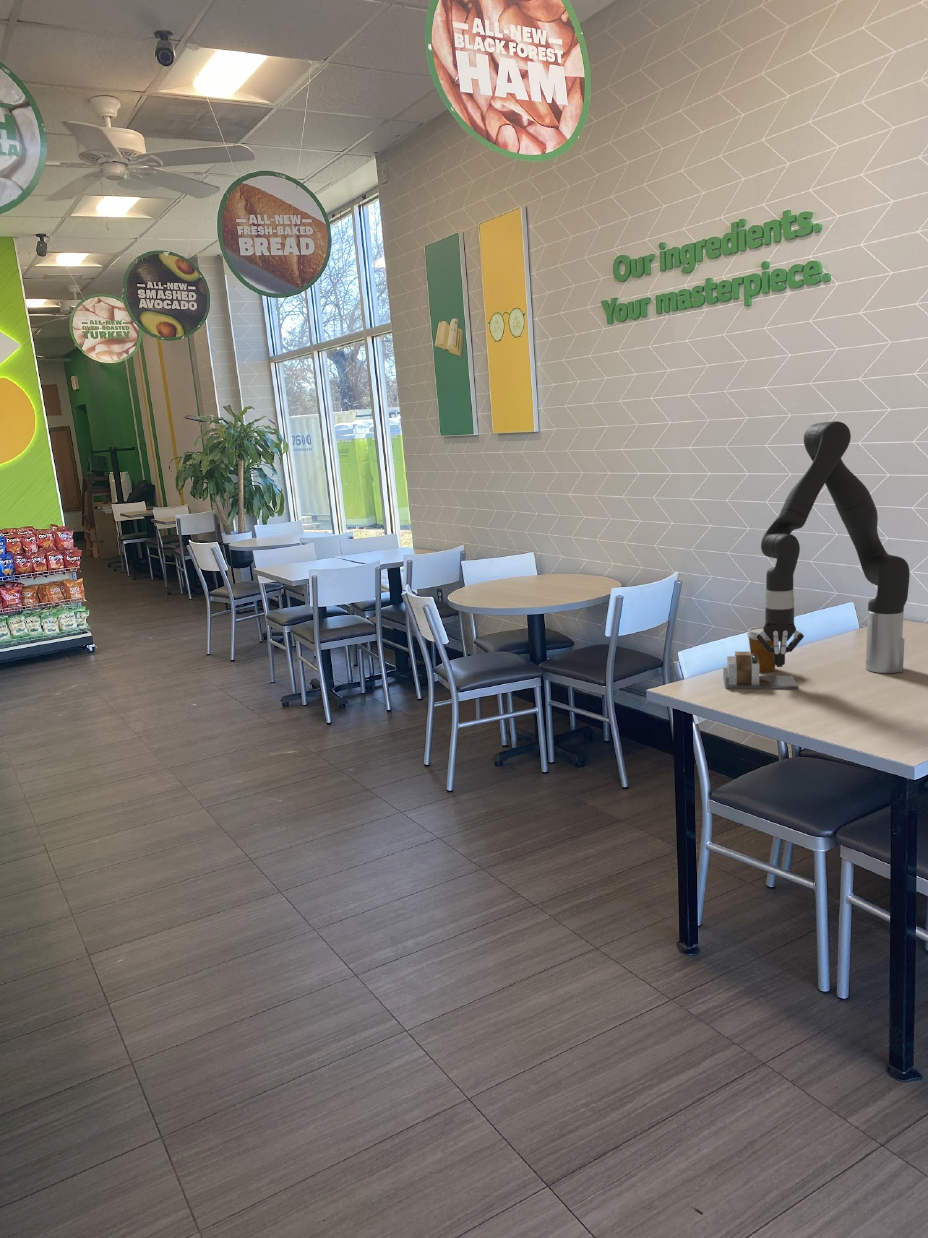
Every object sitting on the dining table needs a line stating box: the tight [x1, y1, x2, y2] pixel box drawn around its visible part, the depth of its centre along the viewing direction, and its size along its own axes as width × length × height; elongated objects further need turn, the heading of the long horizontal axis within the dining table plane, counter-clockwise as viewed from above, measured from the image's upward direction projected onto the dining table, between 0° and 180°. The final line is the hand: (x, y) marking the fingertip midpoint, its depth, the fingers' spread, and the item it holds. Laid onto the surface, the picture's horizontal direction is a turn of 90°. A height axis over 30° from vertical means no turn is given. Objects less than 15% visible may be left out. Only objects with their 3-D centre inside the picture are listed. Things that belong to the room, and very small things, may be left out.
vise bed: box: [722, 655, 799, 690], centre depth 252 cm, size 19×10×7 cm, turn 78°
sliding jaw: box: [751, 653, 760, 685], centre depth 252 cm, size 2×8×7 cm, turn 168°
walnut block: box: [734, 651, 751, 683], centre depth 253 cm, size 4×4×8 cm
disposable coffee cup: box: [746, 626, 776, 673], centre depth 265 cm, size 10×10×12 cm
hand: (779, 666), depth 251 cm, fingers closed
